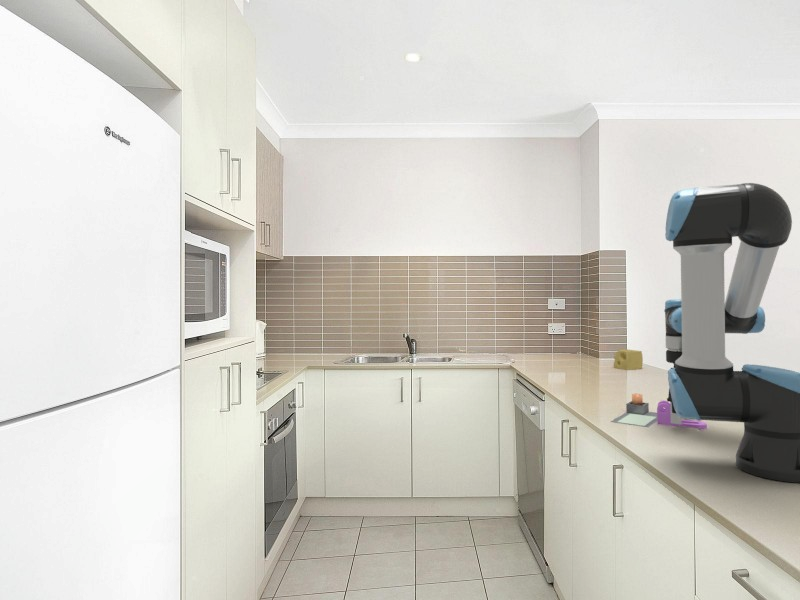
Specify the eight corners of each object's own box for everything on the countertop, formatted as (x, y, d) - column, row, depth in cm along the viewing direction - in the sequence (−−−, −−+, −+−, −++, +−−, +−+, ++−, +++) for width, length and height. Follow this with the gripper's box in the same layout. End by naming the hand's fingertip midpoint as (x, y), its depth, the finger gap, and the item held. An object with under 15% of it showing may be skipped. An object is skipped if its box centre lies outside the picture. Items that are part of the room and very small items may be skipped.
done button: (641, 407, 162) (640, 395, 162) (631, 406, 164) (630, 394, 164) (643, 406, 164) (643, 394, 164) (633, 404, 166) (633, 393, 166)
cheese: (613, 368, 268) (613, 350, 268) (629, 366, 271) (628, 348, 271) (627, 370, 258) (627, 351, 258) (643, 369, 261) (643, 350, 261)
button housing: (644, 414, 160) (643, 405, 160) (626, 412, 164) (626, 403, 164) (648, 411, 164) (648, 403, 164) (631, 409, 168) (631, 401, 168)
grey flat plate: (648, 428, 145) (648, 426, 145) (610, 423, 153) (610, 421, 153) (666, 415, 161) (666, 413, 161) (631, 410, 168) (630, 409, 168)
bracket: (657, 426, 149) (656, 403, 149) (658, 421, 153) (657, 399, 153) (707, 430, 142) (706, 407, 142) (706, 426, 147) (705, 403, 147)
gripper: (684, 355, 136) (686, 430, 136) (702, 346, 154) (703, 412, 155) (655, 353, 141) (657, 425, 141) (675, 345, 159) (677, 409, 160)
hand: (681, 418), depth 148 cm, fingers open, 13 cm apart
